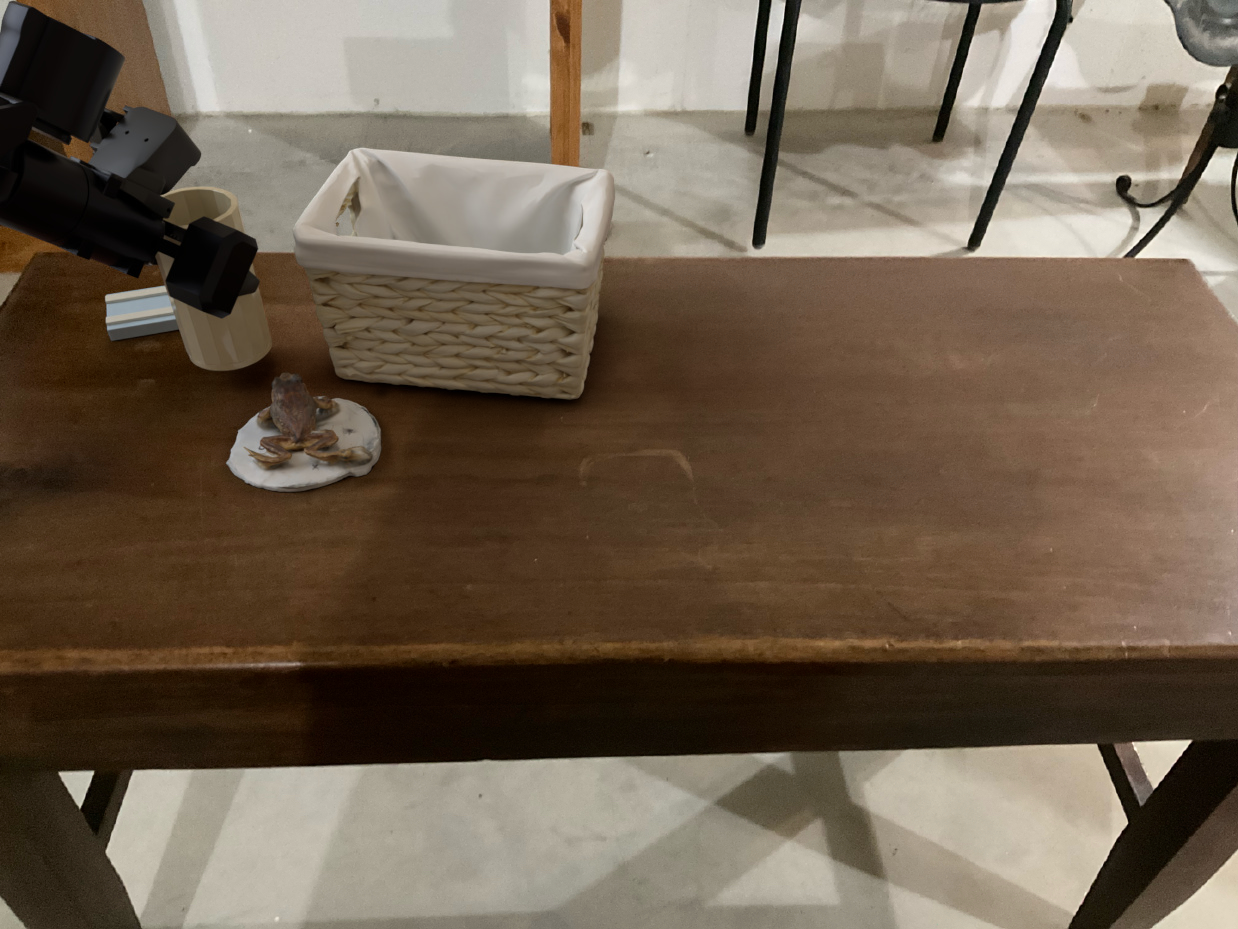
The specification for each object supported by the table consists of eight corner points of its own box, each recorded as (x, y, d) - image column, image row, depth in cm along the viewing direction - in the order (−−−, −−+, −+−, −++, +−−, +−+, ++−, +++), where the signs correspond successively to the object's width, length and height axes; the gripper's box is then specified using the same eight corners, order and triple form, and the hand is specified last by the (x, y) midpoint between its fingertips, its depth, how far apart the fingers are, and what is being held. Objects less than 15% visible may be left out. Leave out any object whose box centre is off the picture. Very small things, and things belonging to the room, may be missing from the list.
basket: (314, 386, 82) (280, 232, 72) (370, 284, 94) (348, 139, 84) (591, 415, 81) (596, 263, 71) (612, 309, 93) (619, 165, 82)
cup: (232, 380, 78) (190, 236, 69) (170, 356, 80) (121, 213, 71) (289, 338, 83) (256, 199, 74) (229, 317, 85) (190, 179, 76)
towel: (111, 341, 85) (105, 327, 84) (110, 305, 89) (105, 291, 88) (229, 321, 88) (225, 307, 87) (222, 287, 92) (219, 273, 91)
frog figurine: (214, 418, 78) (202, 381, 76) (359, 383, 82) (353, 347, 80) (238, 510, 71) (226, 473, 68) (397, 467, 75) (391, 430, 72)
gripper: (202, 123, 60) (350, 214, 74) (13, 54, 66) (183, 150, 81) (134, 287, 60) (294, 345, 75) (-48, 202, 67) (132, 271, 81)
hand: (225, 272), depth 78 cm, fingers closed on cup, 7 cm apart
